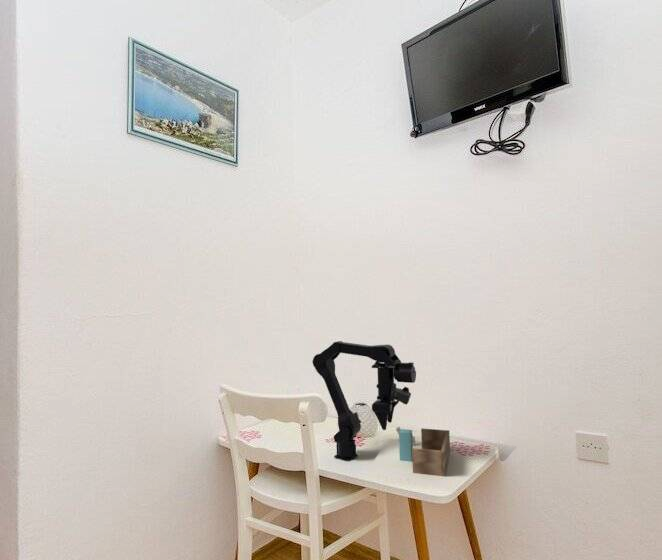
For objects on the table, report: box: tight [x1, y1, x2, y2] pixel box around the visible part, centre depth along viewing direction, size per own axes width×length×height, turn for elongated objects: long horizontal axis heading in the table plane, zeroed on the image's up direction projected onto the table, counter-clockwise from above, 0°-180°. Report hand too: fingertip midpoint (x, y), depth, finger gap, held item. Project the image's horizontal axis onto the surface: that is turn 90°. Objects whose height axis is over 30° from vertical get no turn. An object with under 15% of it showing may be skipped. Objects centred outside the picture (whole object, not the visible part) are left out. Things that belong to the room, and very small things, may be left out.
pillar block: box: [398, 428, 414, 462], centre depth 147 cm, size 4×4×11 cm
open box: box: [411, 427, 451, 478], centre depth 144 cm, size 10×23×9 cm, turn 160°
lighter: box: [395, 426, 416, 447], centre depth 162 cm, size 7×2×8 cm, turn 78°
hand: (387, 425), depth 147 cm, fingers open, 9 cm apart
